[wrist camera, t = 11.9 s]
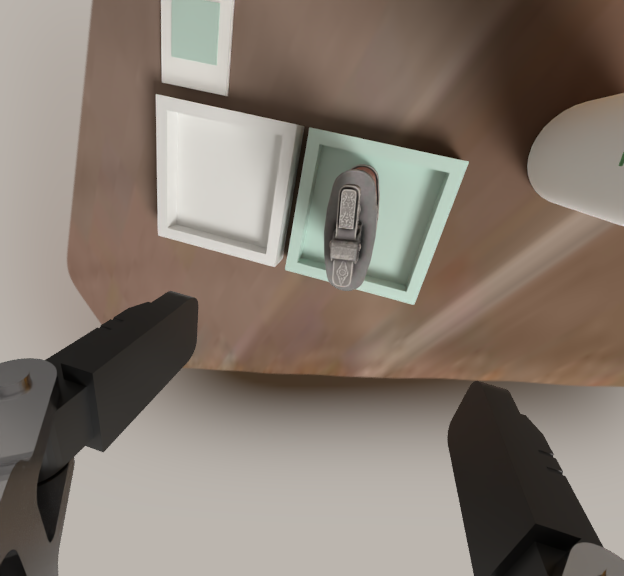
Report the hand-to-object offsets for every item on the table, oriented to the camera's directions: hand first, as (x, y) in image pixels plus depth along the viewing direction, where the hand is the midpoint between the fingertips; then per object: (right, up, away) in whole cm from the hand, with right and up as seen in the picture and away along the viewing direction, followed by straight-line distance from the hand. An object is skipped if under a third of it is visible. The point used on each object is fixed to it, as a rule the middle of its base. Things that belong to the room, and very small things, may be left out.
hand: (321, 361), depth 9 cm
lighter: (+4, +9, +19) cm, 21 cm away
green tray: (+5, +8, +19) cm, 22 cm away
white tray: (-8, +12, +21) cm, 25 cm away
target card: (-10, +23, +17) cm, 30 cm away
